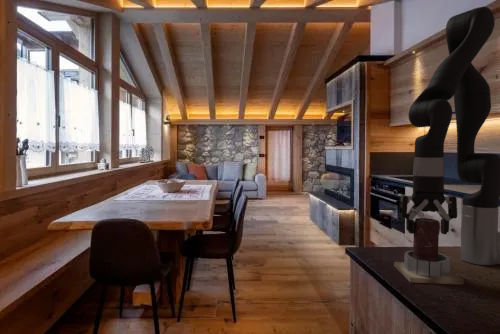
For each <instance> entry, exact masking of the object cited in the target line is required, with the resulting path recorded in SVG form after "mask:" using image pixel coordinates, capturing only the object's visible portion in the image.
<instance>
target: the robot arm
mask: <svg viewBox="0 0 500 334" xmlns="http://www.w3.org/2000/svg"><path fill="white" fill-rule="evenodd" d="M495 21H496V20H495V16H494V13H493V11H492V10H491V8H489V7H487V6H481V7H480V6H479V7H475V8H472V9H470V10H467V11H464V12H461V13H458V14H455V15H453V16H451V17H450V18H448V20H447V22H446V25H445V36H446V37H445V38H446V45H447V49H448V56H447V57H445V58H444V60H443V61H442V62H441V63H440V64H439V65H438V66H437V67H436V69H435V71H434V73H433V74H432V76H431V79H430V80H429V83H428V85H427V86H426V87H425V89H424V90H422V92H421V93H420V94H419V95H418V96H417V98H415V100H414V101H412V104H411V105H410V108H409V111H408V120H409V123H410V124H411V125H412V126H413V127H416V128H429V129H428V131H427V132H426V134H424V135H420V136H418V137H416V138H415V140H414V156H413V157H414V159H413V168H412V170H413V171H412V194H411V195H404V194H401V195H400V197H399V209H398V210H399V212H398V215H399V216H400V217H402V218H404V219H405V220H406V223H405V224H406V225H405V226H406V228H405V229H406V231H407V233H409V234H410V235H411V234H412V235H414V221H415V217H416V216H417V215H419V214H420V213H421V212H425V213H426V212H431V213H436V214H438V215H439V217H440V218H441V219H440V233H441V235H447V233H449V231H450V221H451V220H454V219H457V218H458V202H457V201H458V200H457V196H454V195H450V194H448V195H446V196H445V195H444V192H445V174H446V171H445V161H444V160H445V158H444V152H445V149H444V148H445V141H446V140H445V139H446V137H447V133H448V132H449V131H448V130H449V128H450V124H451V121H452V119H453V107H452V105H451V103H450V102H449V100H451V99H453V101H454V102H453V103H454V113H455V114H454V115H455V122H456V123H455V124H456V139H457V140H456V171H457V176H458V178H459V180H460V181H461V182H463V183H467V184H478V185H479V184H480V185H481V186H480V189H479V190H478V191H475V192H472V193H469V194H465V195H463V197H462V209H461V214H462V216H461V246H460V248H461V249H460V259H461V260H462V261H464V262H467V263H470V264H474V265H480V266H497V265H500V231H499V206H500V205H499V204H500V155H498V154H497V153H475V145H476V144H475V143H476V139H477V136H478V133H479V131H480V129H481V128H482V127H483V126H484V124H485V122H486V120H487V118H488V116H489V115H490V113H491V109H492V102H491V101H492V100H491V99H492V97H491V87H490V84H489V83H488V81H487V79H486V78H485V77H484V76H483V75H482V74H481V73H480V72H479V71H478V70H477V68H476V67H475V66H474V65H473V63H472V62H473V60H474V59H475V58H476V56H477V55H478V54H479V52H480V51H481V50H482V49H483V47H484V46H485V44H486V43H487V42H488V40H489V38H490V37H491V35H492V33H493V31H494V28H495ZM410 202H412V203H413V205H412V206H411V207H410V208H409V210H408V204H409V203H410ZM444 202H445V203H446V204H447V210H446V209H444V207H443V204H444Z"/></svg>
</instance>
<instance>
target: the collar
mask: <svg viewBox="0 0 500 334" xmlns="http://www.w3.org/2000/svg"><path fill="white" fill-rule="evenodd" d="M403 257H404V258H403V260H404V268H405V269H406V270H407V271H408V272H411V273H414V274H416V275H417V274H418V275H421V276H426V277H446V276H449V273H450V271H451V270H450V269H451V268H450V267H451V266H450V265H451V263H450V262H451V258H450V257H449V256H447V255H446V254H443V253H440V252H438V261H427V260H421V259H417V258H413V249H412V250H406V251H405V253H404V256H403Z"/></svg>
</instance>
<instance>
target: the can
mask: <svg viewBox="0 0 500 334" xmlns="http://www.w3.org/2000/svg"><path fill="white" fill-rule="evenodd" d="M440 233H441V221H440V220H438V219H435V218H434V219H433V218H425V217H421V218H419V217H418V218H414V234H413V239H412V240H413V242H412V243H413V248H412V250H413V258H417V259H421V260H427V261H438V253H439V238H440V237H439V235H440Z"/></svg>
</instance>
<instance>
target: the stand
mask: <svg viewBox="0 0 500 334" xmlns="http://www.w3.org/2000/svg"><path fill="white" fill-rule="evenodd" d="M393 266H394V267H395V269H396V270H398V272H399V273H400V274H401V275H402V276H403V277H405V279H406V280H407V281H409V283H412V284H415V283H416V284H418V283H419V284H420V283H421V284H443V285H464V281H465V280H464V278H462V277H460V276H459V275H458V274H456V273H455V272H453V271H452V270H450V273H449V276H446V277H426V276H421V275H418V274H417V275H416V274H414V273H411V272H408V271H407V270H406V269H405V268H404V262H403V261H394V263H393Z"/></svg>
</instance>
